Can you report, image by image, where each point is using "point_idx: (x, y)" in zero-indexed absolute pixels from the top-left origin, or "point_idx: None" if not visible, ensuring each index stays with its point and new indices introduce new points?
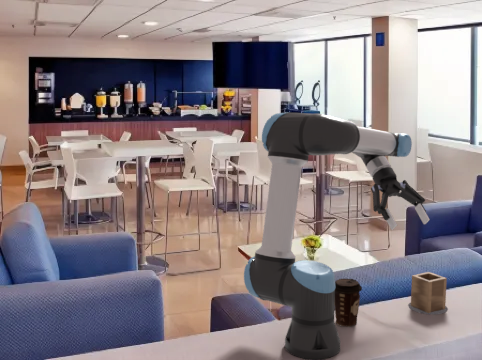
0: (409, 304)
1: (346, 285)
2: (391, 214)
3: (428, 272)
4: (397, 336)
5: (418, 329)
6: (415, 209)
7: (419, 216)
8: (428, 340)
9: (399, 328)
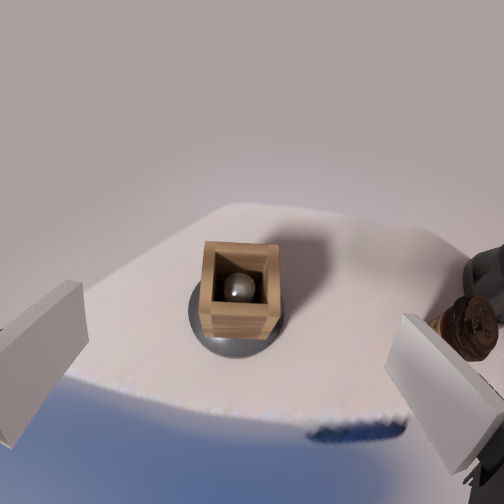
0: (263, 346)
1: (488, 305)
2: (457, 367)
3: (205, 307)
4: (377, 258)
5: (325, 258)
6: (19, 435)
7: (55, 382)
8: (339, 221)
9: (355, 280)
